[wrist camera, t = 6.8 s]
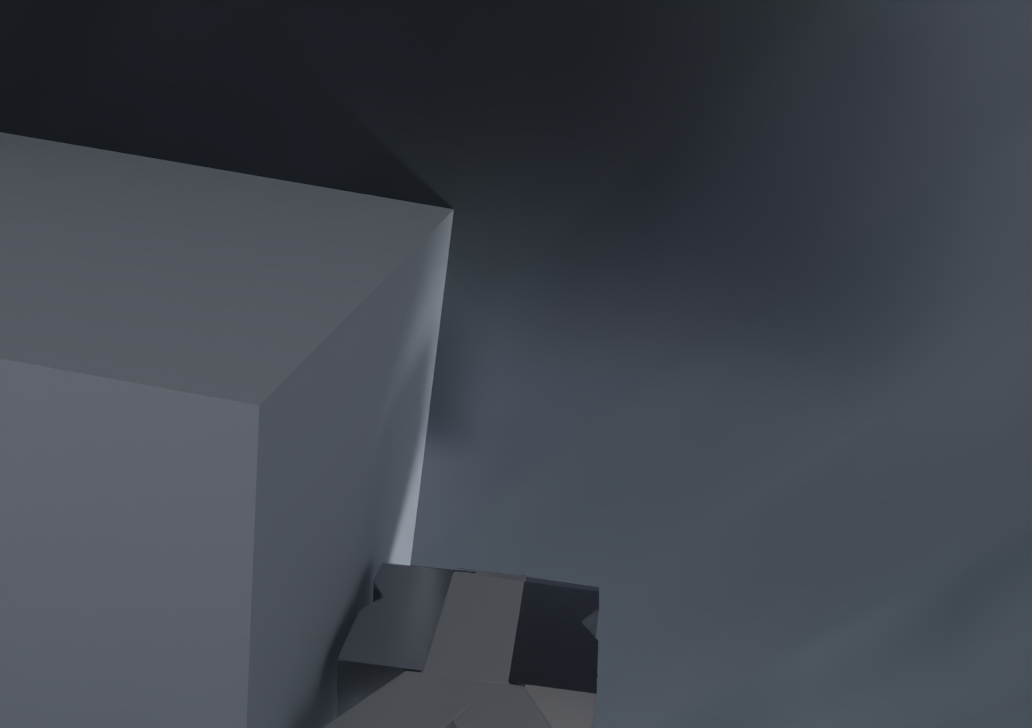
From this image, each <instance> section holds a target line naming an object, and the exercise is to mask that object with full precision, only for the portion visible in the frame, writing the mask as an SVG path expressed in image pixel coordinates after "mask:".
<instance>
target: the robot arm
mask: <svg viewBox="0 0 1032 728" xmlns="http://www.w3.org/2000/svg"><path fill="white" fill-rule="evenodd" d="M598 612H599V587H593V586H586V585H579V584H572V583H565V582H558V581H551V580H544V579H537V578H531V577H525V575H514V574H503V573H495V572H487V571H479V570H470V569H462V568H457V569H456V570H451V569H442V568H432V567H423V566H414V565H404V564H395V563H382V564H381V566H380V568H379V570H378V572H377V574H376V576H375V578H374V580H373V603H372V604H370V605H368V606H366V607H365V608H363V609H361V610H359V612H358V615H357V617H356V619H355V621H354V623H353V626H352V628H351V630H350V632H349V634H348V637H347V639H346V641H345V643H344V645H343V648H342V650H341V652H340V654H339V656H338V659H337V718H336V719H334V720H333V721H331V722H330V723H328V724H327V725H326V726H324V727H323V728H593V720H594V711H595V702H596V692H597V662H598V640H597V639H596V630H597V621H598Z"/></svg>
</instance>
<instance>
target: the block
mask: <svg viewBox="0 0 1032 728" xmlns="http://www.w3.org/2000/svg"><path fill="white" fill-rule="evenodd" d="M453 213H454V209H449V208H443V207H437V206H431V205H425V204H419V203H414V202H408V201H402V200H396V199H390V198H384V197H378V196H372V195H367V194H361V193H355V192H349V191H343V190H337V189H331V188H325V187H320V186H314V185H308V184H302V183H296V182H290V181H284V180H278V179H273V178H267V177H261V176H255V175H249V174H243V173H237V172H231V171H226V170H220V169H214V168H208V167H202V166H196V165H190V164H184V163H178V162H173V161H167V160H161V159H155V158H149V157H143V156H137V155H131V154H126V153H120V152H114V151H108V150H102V149H96V148H90V147H84V146H79V145H73V144H67V143H61V142H55V141H49V140H43V139H37V138H32V137H26V136H20V135H14V134H8V133H2V132H0V728H323V727H324V726H326V725H327V724H328V723H330V722H331V721H333V720H334V719H336V718H337V659H338V656H339V654H340V652H341V650H342V648H343V645H344V643H345V641H346V639H347V637H348V634H349V632H350V630H351V628H352V626H353V623H354V621H355V619H356V617H357V615H358V612H359V610H361V609H363V608H365V607H366V606H368V605H370V604H372V603H373V580H374V578H375V576H376V574H377V572H378V570H379V568H380V566H381V564H382V563H395V564H404V565H410V562H411V554H412V545H413V537H414V529H415V521H416V513H417V505H418V497H419V489H420V481H421V473H422V465H423V456H424V448H425V440H426V432H427V424H428V416H429V408H430V400H431V392H432V383H433V375H434V367H435V359H436V351H437V343H438V335H439V327H440V318H441V310H442V302H443V294H444V286H445V278H446V270H447V262H448V253H449V245H450V237H451V229H452V221H453Z"/></svg>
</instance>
